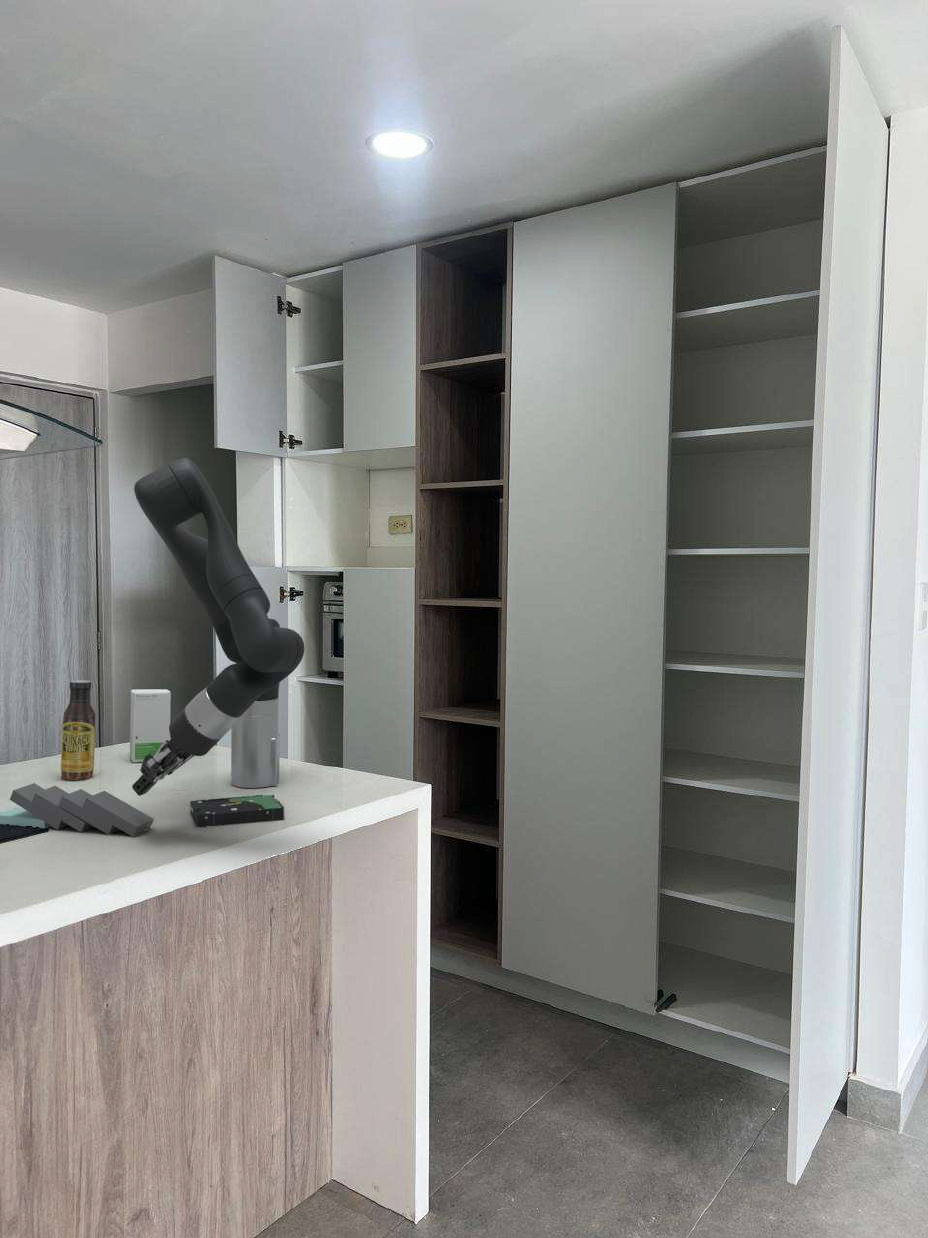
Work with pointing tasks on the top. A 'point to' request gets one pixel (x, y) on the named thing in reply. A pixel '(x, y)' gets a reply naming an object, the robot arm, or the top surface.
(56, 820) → the domino
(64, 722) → the sauce bottle
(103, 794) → the domino
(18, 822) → the domino
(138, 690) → the skincare box
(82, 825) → the domino
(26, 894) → the top surface
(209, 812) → the disk drive
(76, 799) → the domino
